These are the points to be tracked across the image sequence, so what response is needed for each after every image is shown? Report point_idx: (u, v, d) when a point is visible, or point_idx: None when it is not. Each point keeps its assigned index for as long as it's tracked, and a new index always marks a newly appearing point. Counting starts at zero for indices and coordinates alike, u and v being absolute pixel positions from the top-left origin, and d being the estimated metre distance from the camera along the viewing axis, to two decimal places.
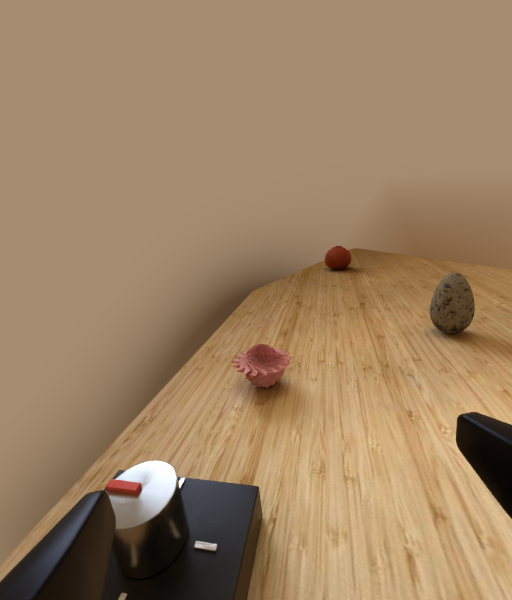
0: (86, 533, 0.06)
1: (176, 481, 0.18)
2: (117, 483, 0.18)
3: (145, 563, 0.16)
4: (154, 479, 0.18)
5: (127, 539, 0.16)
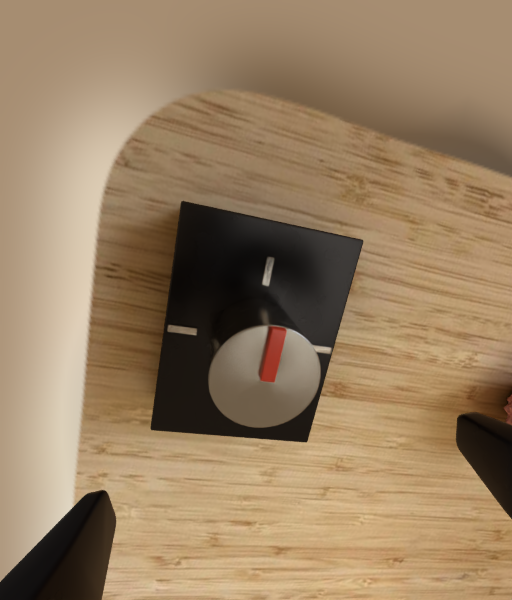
0: (86, 533, 0.06)
1: (277, 423, 0.12)
2: (276, 346, 0.10)
3: None
4: (283, 392, 0.11)
5: None
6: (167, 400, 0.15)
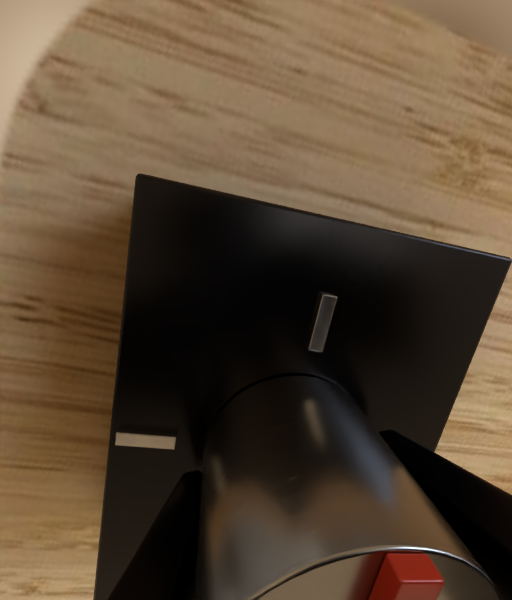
0: (197, 509, 0.06)
1: None
2: None
3: None
4: None
5: None
6: (122, 559, 0.08)
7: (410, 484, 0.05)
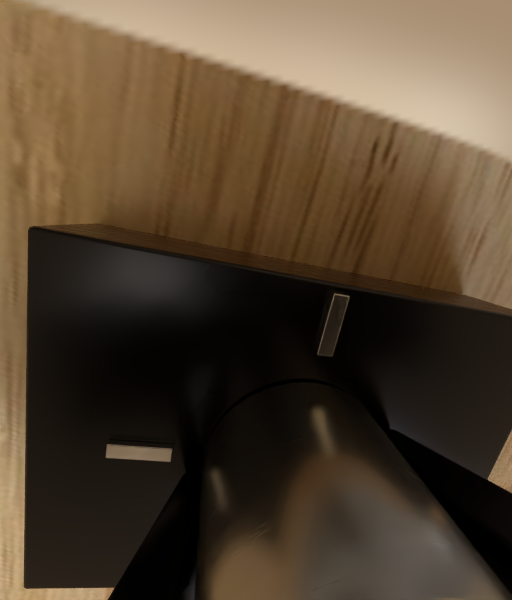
0: (198, 508, 0.06)
1: None
2: None
3: None
4: None
5: None
6: (138, 282, 0.06)
7: (439, 513, 0.04)
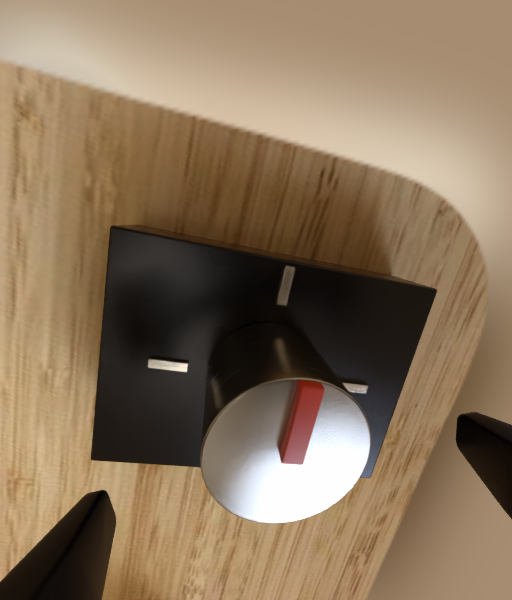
0: (86, 533, 0.06)
1: (303, 516, 0.08)
2: (307, 413, 0.07)
3: None
4: (313, 475, 0.08)
5: None
6: (170, 258, 0.10)
7: (327, 368, 0.08)
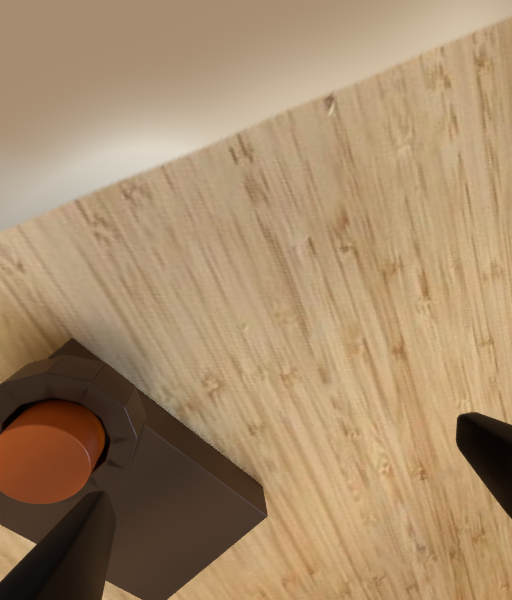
0: (86, 533, 0.06)
1: None
2: None
3: None
4: None
5: None
6: None
7: None
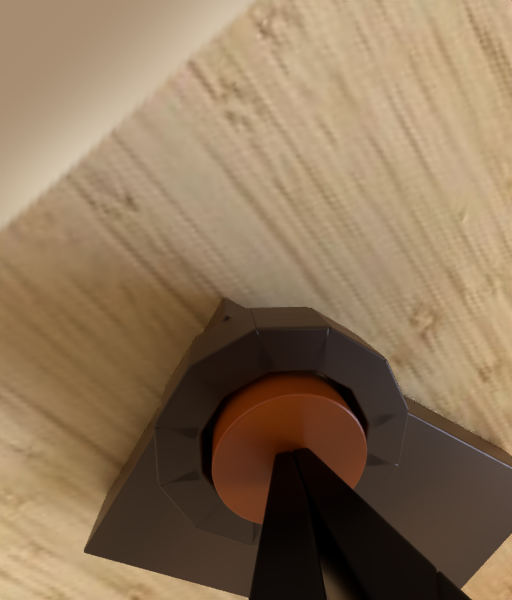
0: None
1: None
2: None
3: None
4: None
5: None
6: None
7: None
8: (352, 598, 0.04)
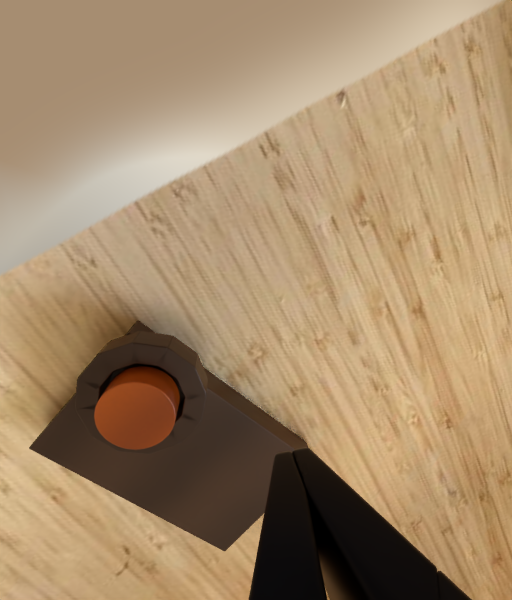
0: None
1: None
2: None
3: None
4: None
5: None
6: None
7: None
8: (352, 598, 0.04)
